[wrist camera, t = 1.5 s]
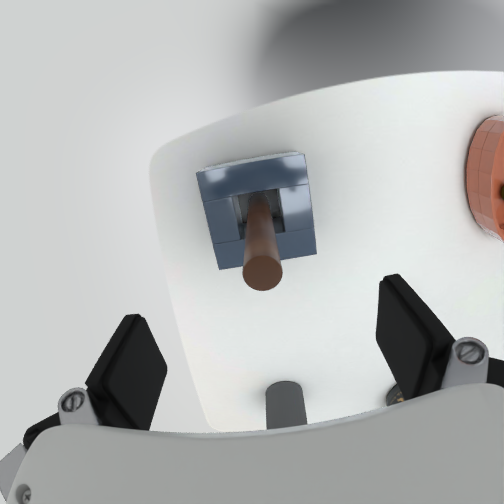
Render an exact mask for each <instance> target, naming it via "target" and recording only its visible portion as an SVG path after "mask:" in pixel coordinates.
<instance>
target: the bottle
mask: <svg viewBox="0 0 504 504" xmlns="http://www.w3.org/2000/svg"><path fill="white" fill-rule="evenodd" d="M266 425H267V430H269V429H278V428H286V427H294V426H300V425H307V418H306V411H305V404H304V398H303V392H302V388H301V387H300V385H298V384H297V383H294V382H288V381H284V382H278V383H275V384H273V385H271V386H270V387H269V388H268V389H267V391H266Z"/></svg>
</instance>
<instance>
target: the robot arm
mask: <svg viewBox="0 0 504 504" xmlns="http://www.w3.org/2000/svg"><path fill="white" fill-rule="evenodd" d="M376 341H377V344H378V346H379V347H380V349H381V351H382V353H383V355H384V357H385V359H386V361H387V363H388V366H389V368H390V370H391V372H392V374H393V376H394V378H395V380H396V382H397V384H398V386H399V389H400V391H401V393H402V395H403V397H404V399H405V401H404V402H401V403H397V404H394V405H391V406H387V407H383V408H380V409H376V410H372V411H369V412H365V413H361V414H357V415H353V416H348V417H344V418H339V419H334V420H329V421H324V422H319V423H313V424H307V425H300V426H294V427H286V428H278V429H269V430H259V431H246V432H226V433H176V432H158V431H149V429H150V426H151V422H152V419H153V415H154V412H155V409H156V406H157V402H158V399H159V396H160V393H161V390H162V386H163V383H164V380H165V377H166V374H167V365H166V362H165V360H164V358H163V356H162V354H161V352H160V350H159V348H158V346H157V344H156V342H155V339H154V337H153V335H152V333H151V331H150V328H149V326H148V324H147V322H146V320H145V318H143V317H141V315H139V314H130V315H126V316H125V317H124V318H123V320H122V321H121V323H120V324H119V326H118V328H117V329H116V331H115V333H114V334H113V336H112V337H111V339H110V341H109V343H108V344H107V346H106V347H105V349H104V351H103V352H102V354H101V356H100V357H99V359H98V361H97V363H96V364H95V366H94V368H93V369H92V371H91V373H90V375H89V377H88V378H87V380H86V382H85V384H86V385H87V386H88V388H87V390H85V389H83V388H73V389H70V390H68V391H67V392H65V393H64V394H63V395H62V396H61V398H60V399H59V402H58V412H57V413H56V414H54V415H52V416H50V417H48V418H46V419H44V420H42V421H40V422H39V423H37V424H35V425H33V426H31V427H30V428H28V429H27V431H26V433H25V435H24V438H23V444H24V445H22V444H21V443H20V444H19V445H18V446H16V447H15V448H14V449H13V450H12V451H11V452H10V453H9V454H7V455H6V456H5V457H4V458H3V459H2V460H1V461H0V491H1V493H2V495H3V497H4V499H5V501H6V504H504V361H503V360H499V359H495V358H490V357H489V352H488V349H487V347H486V345H485V344H484V343H483V342H482V341H480V340H478V339H476V338H473V337H464V338H460V339H458V340H457V341H456V340H455V339H454V338H453V336H452V335H451V334H450V333H449V331H448V330H447V329H446V328H445V326H444V325H443V324H442V323H441V321H440V320H439V319H438V318H437V317H436V315H435V314H434V313H433V312H432V311H431V309H430V308H429V307H428V306H427V305H426V304H425V303H424V302H423V300H422V299H421V298H420V297H419V296H418V295H417V294H416V292H415V291H414V290H413V289H412V288H411V287H410V286H409V285H408V283H407V282H406V281H405V280H404V279H403V278H402V277H401V276H400V275H399V274H393V275H388V276H385V277H384V278H383V280H382V281H380V283H379V301H378V315H377V326H376Z"/></svg>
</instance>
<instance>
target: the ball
mask: <svg viewBox="0 0 504 504" xmlns="http://www.w3.org/2000/svg"><path fill="white" fill-rule="evenodd" d="M501 196H502V199H503V201H504V186H503V187H502V190H501Z"/></svg>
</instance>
